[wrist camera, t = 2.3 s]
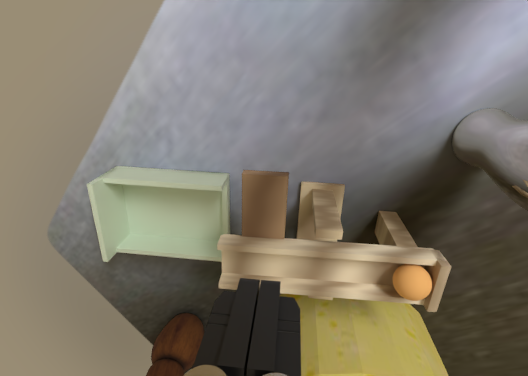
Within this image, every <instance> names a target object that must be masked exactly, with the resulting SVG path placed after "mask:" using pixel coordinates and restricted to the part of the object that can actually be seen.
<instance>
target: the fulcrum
mask: <svg viewBox="0 0 528 376" xmlns="http://www.w3.org/2000/svg"><path fill="white" fill-rule="evenodd" d="M344 190H345V185H344V184H332V183H317V182H301V193H300V205H299V217H298V229H297V239H303V240H318V241H332V242H337V239H339V240H342V235H343V229H342V225H341V221H340V217H341V210H342V203H343V196H344ZM375 234H376V237H377V239H378V241H379V244H380V245H390V246H405V247H417V245H416V244H415V242H414V240H413V239H412V237H411V235H410V234H409V232H408V231H407V229H406V227H405V226H404V224H403V222H402V221H401V219H400V218H399V216H398V214H397V213H396V212H390V211H379V213H378V218H377V223H376V228H375ZM308 298H314V299H325V300H333V297H321V296H308Z"/></svg>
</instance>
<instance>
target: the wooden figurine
mask: <svg viewBox="0 0 528 376" xmlns="http://www.w3.org/2000/svg"><path fill="white" fill-rule="evenodd" d="M203 335H204V328H203V324H202V322H201V320H200V319H199V318H198V317H197V316H196V315H194V314H190V313H183V314H179V315H176V316H175V317H174V318H173V319H172V320H171V321H169V322H168V324H167V325H166V326H165V327H164V329H163V330H162V331H161V333H160V334H159V335H158V337H157V339H156V341H155V343H154V346H153V349H152V356H151V357H152V359H151V360H152V364H153V365H152V366H151V367H150V369H149V370H148V373H147V375H146V376H184V372H185V371H186V370H188V369H189V368H191V366H192V365H193V364H194V362H195V359H196V356H197V353H198V350H199V347H200V344H201V341H202V338H203Z"/></svg>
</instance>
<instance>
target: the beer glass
mask: <svg viewBox="0 0 528 376" xmlns="http://www.w3.org/2000/svg"><path fill="white" fill-rule="evenodd" d="M452 148H453V151H454V153H455V155H456V156H457V157H458V158H459V159H460V160H461V161H462V162H464V163H466V164H469V165H472V166H476V167H479V168H481V169H483V170H484V171H485V172H486V173H487V175H488V176H489V177H490V178H491V179H492V181H493V182H494V183H495V184H496V185H497V186H498V187H499V188H500V189H501V190H502V191H503V192H504V193H505V194H506V195H507V196H508V197H509V198H510V199H511V200H513V201H514V202H515V203H517V204H518V205H519V206H521V207H522V208H523V209H525V210H527V211H528V120H520V119H517V118H515V117H513V116H512V115H511V114H509V113H507V112H506V111H503V110H501V109H497V108H486V109H481V110H478V111H475V112H473V113H471V114H469V115H468V116H467V117H465V118H464V119H463V120H462V121H461V122H460V123H459V125H458V126H457V128H456V129H455V131H454V134H453V137H452Z"/></svg>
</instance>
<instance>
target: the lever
mask: <svg viewBox="0 0 528 376" xmlns="http://www.w3.org/2000/svg"><path fill="white" fill-rule="evenodd" d="M288 178H289V172H271V171H253V170H243V173H242V235H231V234H223V235H221V236H220V239H219V241H218V244H217V250H221V254H222V274H221V277H220V281H219V288H221V289H233V290H237V287H238V283H239V280H240V278H247V279H258V280H260V284H261V280H270V281H281V284H280V293H283V294H296V295H308V296H321V297H333V298H346V299H358V300H371V301H383V302H396V303H408V304H421V305H424V306H425V308H426V310H427V311H430V312H436V311H437V308H438V305H439V302H440V299H441V296H442V293H443V290H444V287H445V284H446V281H447V278H448V275H449V272H450V269H451V266H450V264H449V263H448V262H447V260H446V259H445V258H444V256H443V255H442V254H441V252H440V251H439V250H434V249H433V248H419V247H405V246H390V245H376V244H361V243H347V242H332V241H318V240H303V239H289V238H285V223H286V208H287V193H288ZM404 264H416V265H419V266H421V267H423V268H424V269H425V270H426V271H427V272H428V273H429V275H430V277H431V280H432V289H431V292H430V293H429V295H428V296H427V297H426V298H424V299H422V300H418V301H411V300H407V299H405V298H403V297H402V296H400V295H399V294H398V293H397V291H396V290H395V288H394V285H393V274H394V272H395V271H396V269H397V268H398V267H400V266H401V265H404Z"/></svg>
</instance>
